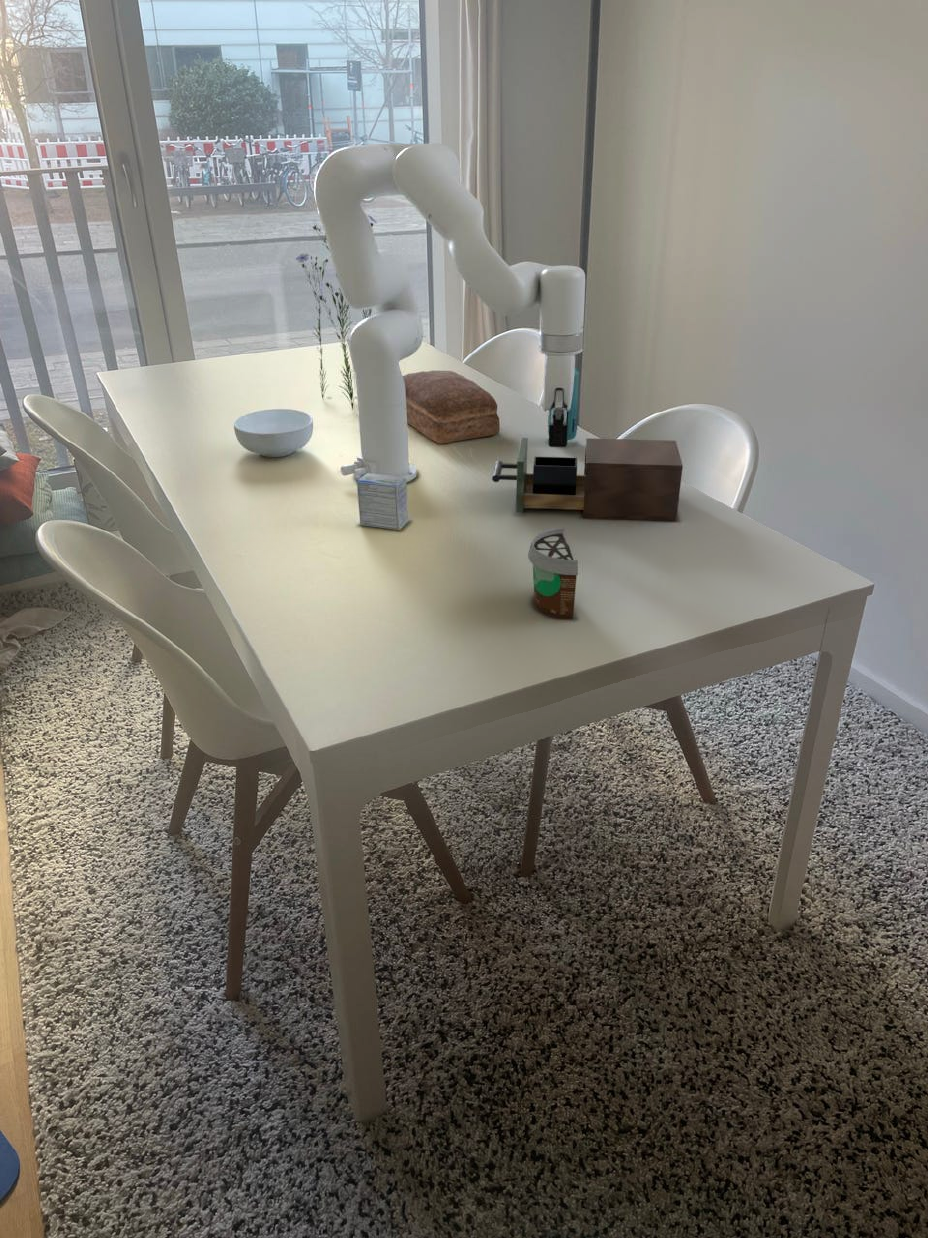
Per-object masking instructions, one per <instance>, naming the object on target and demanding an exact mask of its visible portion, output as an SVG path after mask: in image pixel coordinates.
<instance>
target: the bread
mask: <svg viewBox="0 0 928 1238" xmlns="http://www.w3.org/2000/svg"><path fill="white" fill-rule="evenodd" d="M402 376H403V379H404V383H405V391H406V410H407V424H408V425H410V426H412V427H413V428H414V429H416V430H417V432H419V433H420V434H422V435H424V436H425V437H427V438H428V439H430V440H431V441H433V442H435V443H437V444H447V443H454V442H459V441H464V440H470V439H478V438H485V437H491V436H494V435H495V436H496V435H498V434H499V432H500V429H501V427H500V423H501V422H500V417H499V415H498V404H497V401H496V400H495V398H494V396H492V394H491V393H490V392H488V391H487V390H485V389H484V388H483V387H481V386H480V385H479V384H477V383H476V382H475V381H473V380H471V379H468V378H466V377H465V376H464V375H462V374H459V373H457V372H456V371H452V370H428V371H418V372H409V373H407V374H405V375H402Z"/></svg>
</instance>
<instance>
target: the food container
mask: <svg viewBox="0 0 928 1238" xmlns="http://www.w3.org/2000/svg"><path fill="white" fill-rule="evenodd" d="M564 531H565V529H564V527H559V528H552V529H548V530H544V531H541V532H540V533H538V534H537V535H535V536H534V538H533V539H532V541H531V543H530V545H529V550H528V552H527V553H528V554H527V557H528V560H529V562H530V563H531V564H532V576H533V577H532V578H533V598H534V599H533V600H534V601H533V603H534V607H535V608H536V609H537V611H539V612H540V613H542V614H544V615H546V616H549V617H552V618H557V619H564V620H565V619H567V620H570V619H571V620H573V619H574V610H575V600H576V588H577V576H578V575H579V561H578V559H574V557H573V554H572V552H571V548H570V546H569V544H568V542H567V541H566V539H565V537H564V533H565V532H564Z"/></svg>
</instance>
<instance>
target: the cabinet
mask: <svg viewBox="0 0 928 1238" xmlns="http://www.w3.org/2000/svg"><path fill="white" fill-rule="evenodd" d="M584 451H585V452H584V467H583V475H586V476H585V493H584V510H582V518H583V519H601V520H603V519H606V520H607V519H608V520H629V521H630V520H632V521H636V520H637V521H658V522H660V521H661V522H677V519H678V510H679V503H680V493H681V484H682V477H683V475H682V474H683V467H684V465H683V461H682V458H681V455H680V454H681V453H680V450H679V447H678V443H677V441H676V440H668V439H667V440H664V439H663V440H661V439H629V438H625V439H624V438H591V437H590V438H588V437H587V438H586V437H585V450H584Z"/></svg>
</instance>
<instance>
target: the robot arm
mask: <svg viewBox="0 0 928 1238" xmlns="http://www.w3.org/2000/svg"><path fill="white" fill-rule="evenodd" d="M460 179H461V165H460V161H459V158H458V157H457V155H456V154H455V152H454V151H453V150H452V149H451V148H450V147H448V146H447V145H445V144H442V143H438V142H431V143H375V144H360V145H359V144H357V145H350V146H345V147H341V148H339V149H337V150H335V151H333V152H332V153H331V154H329V155H328V156H327V157H326V158H325V159H324V160H323V161H322V163H321V164H320V166H319V168H318V170H317V172H316V176H315V179H314V186H313V187H314V188H313V192H314V193H313V195H314V201H315V205H316V210H317V213H318V216H319V218H320V221H321V224H322V227H323V231H324V234H325V233H326V235H325V238H326V241H327V244H328V248H329V253H330V256H331V259H332V261H333V262H332V263H333V267H334V270H335V275H336V274H337V276H336V279H337V282H338V285H339V288H340V289H341V291H340V293H341V292H342V295H343V297H344V299H343V300H344V302H346V305H347V306H348V305H349V307H351V308H352V309H354V310H359V311H363V310H364V311H365V310H366V311H367V309H368V310H369V309H371V310H372V309H373V308H374V312H375V314H374V315H371V317H370V316H368V318H367V317H366V319H365V318H363V319H362V320H361V321H359V322H358V323H357V324H356V325H355V326H354V328H353V329H352V330H351V332H350V334H351V335H350V334H349V335H350V336H349V339H348V342H349V346H348V351H349V356H350V360H351V365H352V367H353V368H352V369H353V370H354V372H353V373H354V377H355V389H356V398H357V409H358V411H357V412H358V424H359V425H358V426H359V440H360V455H357V456H356V460H355V461H354V462H353V463H352V464H346V465H342V466H341V467H340V472H341V474H342V476H344V477H345V476H350V475H354V477H355V479H356V480H357V481H358V480H359V479H360V478H361V477H363V476H364V475H365V474H367V473H370V474H379V475H389V476H397V477H405V478H406V484H407V483H409V482H411V481H413V480H415V478H416V477H417V475H418V469H417V467H416V466H415V465H414V464H412V463H410V459H409V436H408V423H407V410H406V391H405V383H404V379H403V376H404V375H403V373H402V370H401V366H400V362H401V361H402V360H404V359H407V358H408V357H410V356H412V355H413V354H415V353H416V352H417V351H418V350H419V349H420V347H421V345H422V343H423V339H424V325H423V320H422V316H421V311H420V307H419V304H418V299H417V295H416V292H415V288H414V283H413V278H412V276H411V272H410V270H409V268H408V265H407V264H406V262H405V261H404V259H402V257H401V256H399V255H398V254H397V253H395V252H394V251H391V250H389V249H378V248H379V247H378V244H377V241H376V239H375V234H374V229H373V226H371V220H369V219H370V218H369V217H368V215H367V214H366V213H365V211H364V208H363V207H362V205H361V203H362V202H363V200H367V199H373V198H380V197H387V196H404V198H405V199H406V200H407V201H408V202H409V203H410V204H411V205H412V207H414V209H415V210H416V211H417V212H418V213H419V214H420V215H421V216H422V217H423V218H424V219H425V221H426V222H427V223H428V224H429V226H431V228H432V229H433V230H434V231H435V232H436V233H437V234H438V235H439V237H440V238H441V239H442V240H443V241H444V242H445V244H446V245H447V247H448V250H449V254H450V256H451V258H452V260H453V263H454V265H455V267H456V270H457V272H458V273H459V275H460V277H461V278H462V279H463V281H464V282H465V284H466V285H467V286H468V287H469V289H471V290H472V292H473V293H474V294H475V295H476V296H477V298H479V299H480V301H481V302H483V304H484V305H485V306H487V307H488V308H489V309H490V310H491V311H493V312H494V313H496V314H498V315H501V316H505V317H512V316H515V315H518V314H520V313H522V312H524V311H526V310H529V309H531V308H534V307H538V306H539V347H538V348H539V349H538V351H539V353H540V354H543V355H544V366H543V399H542V402H543V403H542V410H543V411H544V412H546V413H547V412H548V411H549V410H550V408H551V424H549V428H548V429H549V430H548V447H550V448H566V447H567V446H568V440H567V429H568V411H569V410H570V408H571V402H572V395H573V387H574V374H575V369H576V355H579V354H581V353H583V350H584V349H583V346H584V345H583V343H584V322H585V321H584V320H585V299H586V294H585V293H586V274H585V271H584V269H582V267H579V266H575V265H548V264H543V263H538V262H535V261H534V262H533V261H521V262H518V263H516V264H512V265H508V264H507V262H506V261H505V260H504V259H503V258H502V257H501V256H500V255H499V254H498V252H497V251H496V250H495V248H494V247H493V246H492V244H491V243H490V241H489V240H488V238H487V235H486V232H485V230H484V229H485V228H484V216H485V211H484V207H483V205H482V203H481V202H480V201H479V200H478V199H477V198H476V197H475V196H474V195H473V194H472V192H471V191H470V190H469V189H468V188H467V187H466V186H465V185H464V184H463V183H462V182H461V181H460ZM340 289H339V290H340Z"/></svg>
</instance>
